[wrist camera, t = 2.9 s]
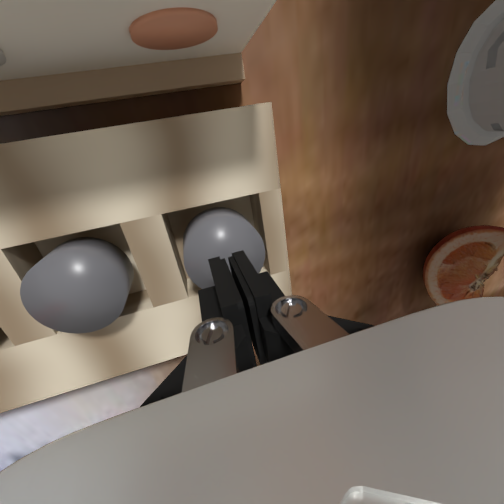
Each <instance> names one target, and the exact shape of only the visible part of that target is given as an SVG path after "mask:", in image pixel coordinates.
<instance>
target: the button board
mask: <svg viewBox="0 0 504 504" xmlns="http://www.w3.org/2000/svg"><path fill="white" fill-rule="evenodd" d="M215 207H225V208H230V209H233V210H235V211H237V212H239V213H240V214H242V215H243V216H244V217H245V218H246V219H247V220H248V221H249V223H250V224H251V225H252V226H253V227H254V228H255V229H256V230H257V232H258V233H259V234H260V236H261V238H262V240H263V243H264V246H265V260H264V264H263V267H262V269H261V271H260V273H262V272H265V271H267V272H268V273H269V274H270V275H271V277H272V278H273V280H274V281H275V282H276V284H277V285H278V287H279V288H280V289H281V291H282V292H283V293H284V295H285V296H289V295H292V292H291V282H290V273H289V263H288V254H287V244H286V235H285V226H284V216H283V207H282V197H281V188H280V179H279V169H278V160H277V150H276V141H275V132H274V122H273V113H272V103H271V102H267V103H261V104H254V105H248V106H241V107H235V108H228V109H222V110H215V111H209V112H203V113H196V114H190V115H183V116H177V117H170V118H164V119H157V120H151V121H144V122H138V123H131V124H125V125H119V126H112V127H106V128H99V129H93V130H86V131H80V132H73V133H67V134H60V135H54V136H47V137H41V138H34V139H28V140H22V141H15V142H9V143H2V144H0V413H2V412H5V411H9V410H12V409H15V408H18V407H21V406H24V405H28V404H31V403H34V402H37V401H40V400H43V399H47V398H50V397H53V396H56V395H59V394H62V393H66V392H69V391H72V390H75V389H78V388H81V387H85V386H88V385H91V384H94V383H97V382H100V381H104V380H107V379H110V378H113V377H116V376H119V375H123V374H126V373H129V372H132V371H135V370H138V369H142V368H145V367H148V366H151V365H154V364H157V363H161V362H164V361H167V360H170V359H173V358H176V357H180V356H183V355H186V354H188V348H189V341H190V336H191V333H192V331H193V329H194V328H195V327H196V326H197V325H198V324H200V323H201V322H202V318H201V311H200V303H199V296H198V290H201V288H200V287H198V286H197V285H196V284H195V283H193V282H192V280H191V279H190V278H189V276H188V274H187V272H186V270H185V266H184V258H183V236H184V232H185V229H186V227H187V225H188V224H189V222H190V221H191V220H192V219H193V218H194V217H195V216H196V215H197V214H199V213H200V212H202V211H204V210H207V209H210V208H215ZM79 237H93V238H99V239H102V240H105V241H108V242H110V243H112V244H114V245H116V246H117V247H119V248H120V249H121V250H122V251H123V252H124V253H125V254H126V255H127V256H128V258H129V259H130V261H131V263H132V266H133V271H134V278H133V282H132V285H131V288H130V291H129V294H128V297H127V300H126V303H125V306H124V309H123V311H122V313H121V314H120V315H119V317H118V318H117V319H116V320H115V321H114V322H112V323H111V324H110V325H108V326H106V327H104V328H102V329H100V330H97V331H93V332H89V333H77V334H76V333H65V332H60V331H56V330H53V329H51V328H48V327H46V326H44V325H42V324H41V323H39V322H38V321H36V320H35V319H34V318H33V317H32V316H31V315H30V314H29V313H28V312H27V310H26V309H25V307H24V305H23V303H22V301H21V296H20V287H21V282H22V280H23V278H24V276H25V274H26V273H27V272H28V271H29V270H30V269H31V268H32V267H33V266H34V265H35V264H37V263H38V262H39V261H40V260H41V259H43V258H44V257H45V256H46V255H47V254H49V253H50V252H51V251H52V250H53V249H55V248H56V247H57V246H58V245H60V244H61V243H63V242H65V241H67V240H70V239H74V238H79Z"/></svg>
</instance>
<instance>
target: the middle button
mask: <svg viewBox="0 0 504 504" xmlns="http://www.w3.org/2000/svg"><path fill="white" fill-rule="evenodd" d="M133 278H134V271H133V266H132V263H131V261H130V259H129V258H128V256H127V255H126V254H125V253H124V252H123V251H122V250H121V249H120V248H119V247H117V246H116V245H114V244H112V243H110V242H108V241H105V240H102V239H99V238H93V237H79V238H74V239H70V240H67V241H65V242H63V243H61V244H60V245H58V246H57V247H56V248H55V249H53V250H52V251H51V252H50V253H49V254H47V255H46V256H45V257H44V258H43V259H41V260H40V261H39V262H38V263H37V264H35V265H34V266H33V267H32V268H31V269H30V270H29V271H28V272H27V273H26V274H25V276H24V278H23V280H22V282H21V287H20V296H21V301H22V303H23V305H24V307H25V309H26V310H27V312H28V313H29V314H30V315H31V316H32V317H33V318H34V319H35V320H36V321H38V322H39V323H41V324H42V325H44V326H46V327H48V328H51V329H53V330H56V331H60V332H65V333H76V334H77V333H89V332H93V331H97V330H100V329H102V328H104V327H106V326H108V325H110V324H111V323H112V322H114V321H115V320H116V319H117V318H118V317H119V315H120V314H121V313H122V311H123V309H124V306H125V303H126V300H127V297H128V294H129V291H130V288H131V285H132V282H133Z"/></svg>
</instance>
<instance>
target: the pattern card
mask: <svg viewBox="0 0 504 504" xmlns="http://www.w3.org/2000/svg"><path fill="white" fill-rule="evenodd" d="M275 2H276V0H0V116H5V115H12V114H19V113H27V112H34V111H41V110H48V109H56V108H63V107H70V106H77V105H84V104H92V103H99V102H106V101H113V100H121V99H128V98H135V97H142V96H150V95H157V94H164V93H171V92H179V91H186V90H193V89H200V88H207V87H215V86H222V85H229V84H236V83H241V82H243V81H244V80H245V75H244V68H243V61H242V54H241V52H242V51H243V49H244V48H245V46H246V45H247V43H248V42H249V40H250V39H251V37H252V36H253V34H254V33H255V32H256V30H257V29H258V27H259V26H260V24H261V23H262V21H263V20H264V18H265V17H266V15H267V14H268V12H269V11H270V9H271V8H272V6H273V5H274V3H275Z"/></svg>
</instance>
